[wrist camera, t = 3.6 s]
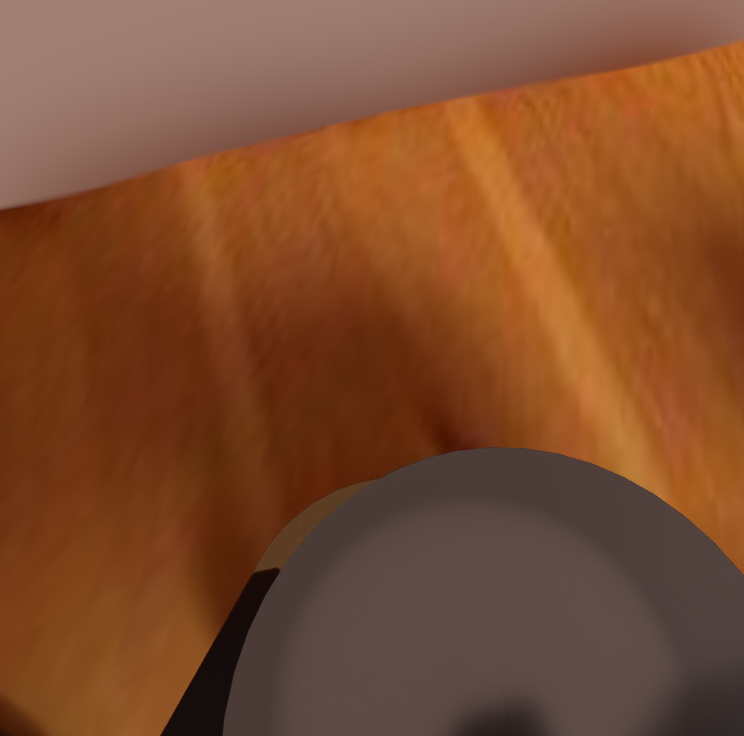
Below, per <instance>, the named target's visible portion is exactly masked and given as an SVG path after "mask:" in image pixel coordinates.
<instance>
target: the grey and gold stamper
mask: <svg viewBox="0 0 744 736" xmlns="http://www.w3.org/2000/svg"><path fill="white" fill-rule="evenodd" d="M275 567H277V568H279V569H280V570H281V571H280V573H279V575H278V576H277V578H276V579H275V581H274V582H273V584H272V586H271V587H270V589H269V590H268V592H267V594H266V595H265V598H264V600H263V602H262V604H261V606H260V608H259V610H258V612H257V614H256V616H255V618H254V621H253V623H252V625H251V627H250V629H249V631H248V634H247V637H246V640H245V643H244V646H243V649H242V651H241V654H240V657H239V660H238V663H237V666H236V669H235V672H234V676H233V681H232V685H231V690H230V695H229V699H228V704H227V708H226V713H225V718H224V728H223V736H744V575H743V574H742V573H741V572H740V570H739V569H738V568H737V567H736V566H735V565H734V564H733V563H732V562H731V560H730V559H729V558H728V557H727V556H726V555H725V554H724V553H723V552H722V550H721V549H720V548H719V547H718V546H717V545H716V544H715V543H714V542H713V541H712V540H711V539H710V538H709V537H708V536H706V535H705V534H704V533H703V532H702V531H701V530H700V529H699V528H698V527H696V526H695V525H694V524H693V523H692V522H691V521H690V520H689V519H688V518H686V517H685V516H684V515H682V514H681V513H680V512H678V511H677V510H676V509H674V508H673V507H671V506H670V505H669V504H667V503H666V502H664V501H663V500H662V499H660V498H659V497H658V496H656V495H655V494H653V493H651V492H649V491H648V490H646V489H644V488H642V487H641V486H639V485H637V484H635V483H633V482H632V481H630V480H628V479H626V478H625V477H623V476H620V475H618V474H616V473H613V472H611V471H608V470H606V469H604V468H601V467H599V466H597V465H594V464H592V463H589V462H585V461H582V460H578V459H575V458H571V457H568V456H565V455H561V454H557V453H551V452H545V451H538V450H532V449H526V448H497V447H490V448H480V449H470V450H460V451H455V452H451V453H447V454H442V455H438V456H434V457H430V458H426V459H423V460H421V461H418V462H415V463H413V464H410V465H408V466H405V467H402V468H400V469H397V470H395V471H393V472H391V473H389V474H387V475H386V476H384V477H382V478H380V479H375V480H369V481H365V482H361V483H357V484H353V485H350V486H347V487H345V488H342V489H339V490H337V491H334V492H332V493H330V494H329V495H327V496H325V497H323V498H321V499H319V500H317V501H316V502H314V503H313V504H312V505H310V506H309V507H307V508H306V509H305V510H303V511H302V512H300V513H299V514H298V515H297V516H296V517H295V518H294V519H293V520H292V521H291V522H289V523H288V524H287V525H286V526H285V527H284V528H283V529H282V531H281V532H280V533H279V534H278V535H277V537H276V538H275V539H274V540H273V541H272V543H271V544H270V545H269V547H268V548H267V550H266V551H265V553H264V555H263V556H262V558H261V559H260V561H259V562H258V564H257V566H256V568H255V570H254V572H253V573H255V572H257V571H262V570H266V569H271V568H275Z"/></svg>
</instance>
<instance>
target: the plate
mask: <svg viewBox="0 0 744 736" xmlns="http://www.w3.org/2000/svg"><path fill="white" fill-rule="evenodd" d="M0 736H10V735H8V734H7V733H5V732H3V731H1V730H0Z"/></svg>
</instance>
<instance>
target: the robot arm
mask: <svg viewBox="0 0 744 736" xmlns="http://www.w3.org/2000/svg"><path fill="white" fill-rule="evenodd" d="M280 571H281V570H280V569H279V568H277V567H275V568H271V569H266V570H262V571H257V572H255V573H253V574H252V575H251V577H250V579H249V580H248V582H247V584H246V586H245V587H244V589H243V591H242V593H241V595H240V596H239V598H238V600H237V602H236V603H235V605H234V607H233V609H232V610H231V612H230V614H229V616H228V617H227V619H226V621H225V623H224V624H223V626H222V628H221V630H220V631H219V633H218V635H217V637H216V639H215V640H214V642H213V644H212V646H211V647H210V649H209V651H208V653H207V654H206V656H205V658H204V660H203V661H202V663H201V665H200V667H199V668H198V670H197V672H196V674H195V675H194V677H193V679H192V681H191V682H190V684H189V686H188V688H187V690H186V691H185V693H184V695H183V697H182V698H181V700H180V702H179V704H178V705H177V707H176V709H175V711H174V712H173V714H172V716H171V718H170V719H169V721H168V723H167V725H166V726H165V728H164V730H163V732H162V734H161V735H160V736H223V728H224V718H225V713H226V708H227V704H228V699H229V695H230V690H231V685H232V681H233V676H234V672H235V669H236V666H237V663H238V660H239V657H240V654H241V651H242V649H243V646H244V643H245V640H246V637H247V634H248V631H249V629H250V627H251V625H252V623H253V621H254V618H255V616H256V614H257V612H258V610H259V608H260V606H261V604H262V602H263V600H264V598H265V595H266V594H267V592H268V590H269V589H270V587H271V586H272V584H273V582H274V581H275V579H276V578H277V576H278V575H279V573H280Z"/></svg>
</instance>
